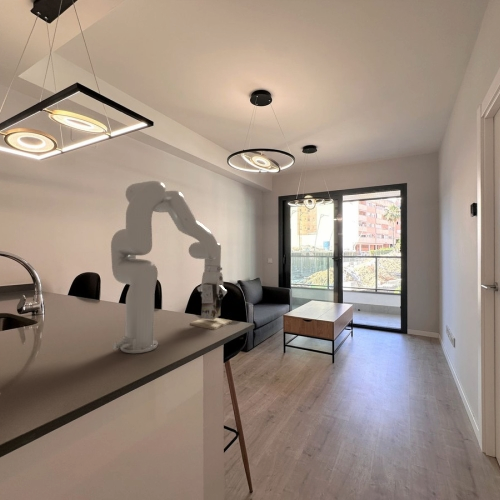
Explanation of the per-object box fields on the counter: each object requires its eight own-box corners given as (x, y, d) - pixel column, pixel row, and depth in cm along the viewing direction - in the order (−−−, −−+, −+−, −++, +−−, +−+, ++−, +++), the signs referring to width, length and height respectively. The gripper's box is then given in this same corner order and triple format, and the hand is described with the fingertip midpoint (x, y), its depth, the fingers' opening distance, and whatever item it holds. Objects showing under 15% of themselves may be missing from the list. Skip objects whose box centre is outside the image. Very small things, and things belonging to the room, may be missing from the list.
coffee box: (214, 320, 131) (215, 284, 131) (200, 318, 132) (201, 283, 132) (220, 315, 140) (221, 282, 140) (208, 314, 141) (209, 281, 141)
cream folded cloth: (214, 329, 127) (214, 327, 127) (189, 324, 134) (189, 322, 134) (231, 322, 139) (231, 320, 139) (208, 318, 146) (208, 316, 146)
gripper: (232, 269, 135) (231, 307, 135) (202, 267, 143) (201, 302, 144) (223, 271, 128) (222, 310, 129) (192, 268, 137) (191, 305, 137)
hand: (211, 306), depth 136 cm, fingers closed on coffee box, 7 cm apart
